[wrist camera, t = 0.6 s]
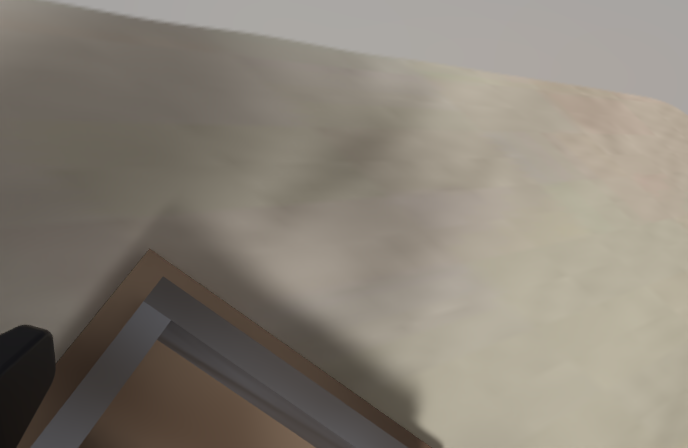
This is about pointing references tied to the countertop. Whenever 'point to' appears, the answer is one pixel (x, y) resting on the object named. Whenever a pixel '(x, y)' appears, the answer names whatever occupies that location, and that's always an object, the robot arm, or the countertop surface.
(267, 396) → the socket board
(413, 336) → the countertop surface
